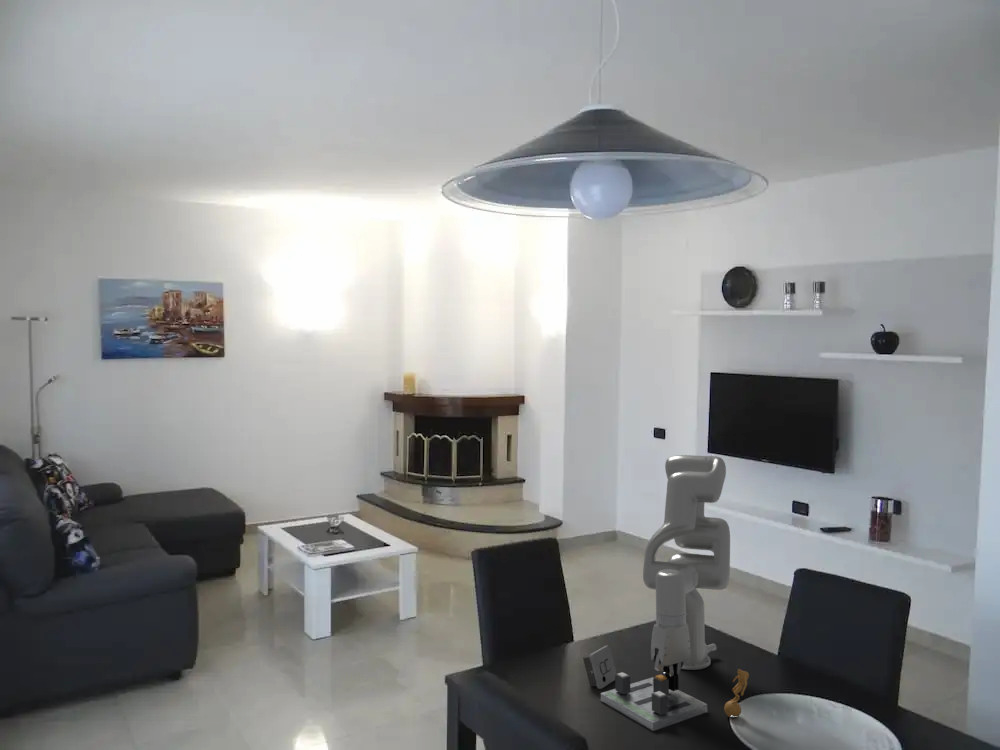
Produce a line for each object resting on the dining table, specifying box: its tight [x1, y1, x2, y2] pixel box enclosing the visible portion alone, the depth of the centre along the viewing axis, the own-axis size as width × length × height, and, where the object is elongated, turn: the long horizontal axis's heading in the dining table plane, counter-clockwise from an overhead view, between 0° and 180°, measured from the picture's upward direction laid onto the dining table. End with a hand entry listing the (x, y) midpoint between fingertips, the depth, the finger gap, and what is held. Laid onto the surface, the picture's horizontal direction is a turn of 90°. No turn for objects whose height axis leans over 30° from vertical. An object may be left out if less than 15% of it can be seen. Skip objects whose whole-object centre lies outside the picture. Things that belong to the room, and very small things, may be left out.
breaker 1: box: [614, 671, 631, 694], centre depth 208 cm, size 2×3×4 cm
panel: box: [600, 676, 708, 732], centre depth 204 cm, size 18×20×2 cm
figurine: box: [723, 668, 750, 718], centre depth 197 cm, size 8×6×12 cm
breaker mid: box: [653, 674, 669, 696], centre depth 205 cm, size 2×3×5 cm
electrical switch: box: [582, 645, 618, 690], centre depth 219 cm, size 9×5×9 cm, turn 141°
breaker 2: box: [652, 691, 668, 715], centre depth 196 cm, size 2×3×4 cm
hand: (671, 688), depth 207 cm, fingers closed
